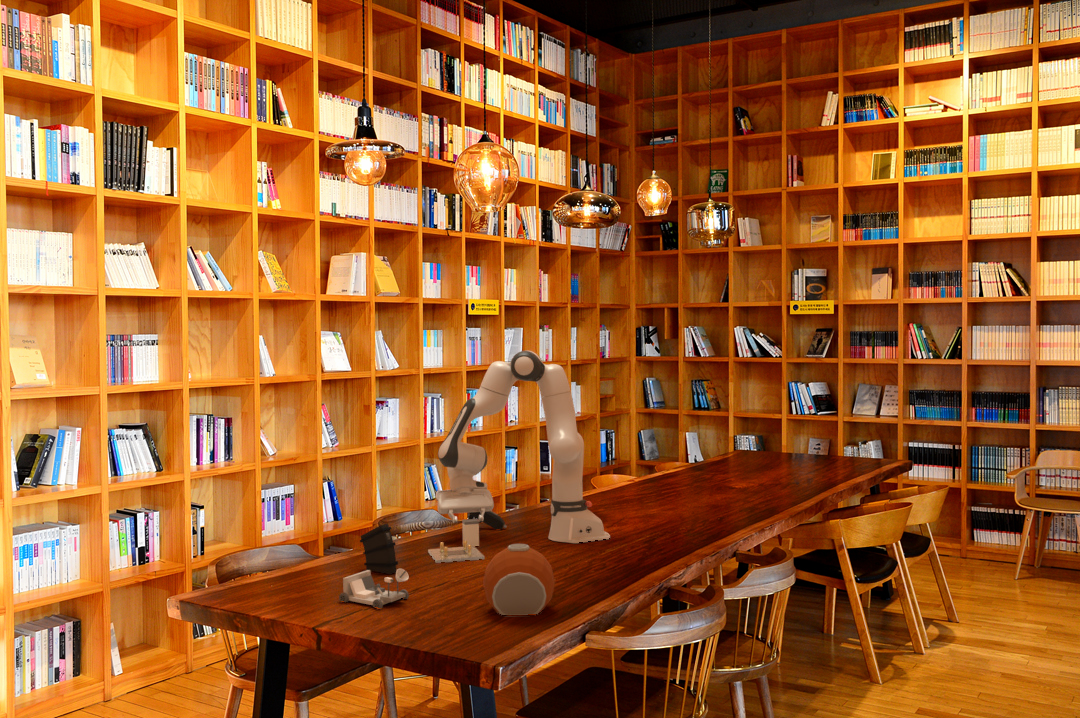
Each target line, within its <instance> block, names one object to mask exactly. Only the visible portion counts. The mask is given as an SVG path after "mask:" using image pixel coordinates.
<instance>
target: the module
mask: <svg viewBox="0 0 1080 718" xmlns="http://www.w3.org/2000/svg"><path fill="white" fill-rule="evenodd" d="M479 522H480V521H479V520H478V519H475V518H473V519H468V518H467V519H462V524H461V525H462V542H463V541H465V540H466V541H467V546H468V545H471V546H474V547H475V546H479V547H480V523H479ZM475 548H476V547H475Z"/></svg>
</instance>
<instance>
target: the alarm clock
mask: <svg viewBox="0 0 1080 718" xmlns="http://www.w3.org/2000/svg"><path fill="white" fill-rule="evenodd" d="M553 571H554V570H553V568H552V565H551V564H550V562H549V561H548V560H547V558H546V557H545V556H544V555H543V554H542V553H540V552H539V551H538V550H536V549H534V548H532V547H530V546H529V545H528V544H526V543H512V544H509V545H508V546H507V547H505V548H504V549H502V550H501V551H500V552H498V553H496V554H495V555H494V556H493V557H492V559H491V560H490V562H488V564H487V565H486V568H485V571H484V575H483V576H484V577H483V581H482V585H483V590H484V594H485V597H486V598H485V599H486V601H487V602H488V604H489V605H490V606H491V607H492V608H493V610H494V611H495V612H496V613H497V614H498V613H499V614H498V615H500V614H501V615H500V616H502V615H528V614H537V615H539V614H538V613H539V612H541V611H542V610H544V609H546V606H547V605H548V604H549V603H550V602H551V600H552V598H553V593H554V590H555V584H556V580H555V576H554V572H553ZM542 612H543V611H542ZM542 612H541V613H542Z"/></svg>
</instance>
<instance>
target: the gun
mask: <svg viewBox="0 0 1080 718" xmlns="http://www.w3.org/2000/svg"><path fill="white" fill-rule="evenodd" d="M468 514H469V515H468V518H467V520H468V519H477V520H478V521H479V519H478V517H479V515H481V513H480V512H469V513H468ZM483 517H484V520H483V521H479V524H481V523H483V524H486V525H487V526H489V527H491V528H492V529H495V530H496V529H502V530H503V529H506V528H507V527H508V525H506V522H505V520H504V519H503V518H502V517H501V516H500V515H499V514H498V513H496V512H494V511H493V510H492V511H487V512H485V513H484V516H483Z"/></svg>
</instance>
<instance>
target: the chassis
mask: <svg viewBox="0 0 1080 718" xmlns="http://www.w3.org/2000/svg"><path fill="white" fill-rule="evenodd" d="M444 544H445V542H443V541H442V542H441V541H440V542H439V548H430V549H429V548H428V549H427V552H428V554H429V555H430V556H432V557H431V558H432V560H433V561H434V560H435V561H434V562H435V564H441V562H445V563H454V562H453V561H457V562H466V561H465V560H470V561H480V560H479V559H482V560H485V555H484V554H483V553H482V552H481V551H480V550H479V549H478V548H477V547H474V546H471V545H468V546H467V541H466V540H465V541H463V540H462V546H458V547H457V546H456V547H448V546H445V545H444Z"/></svg>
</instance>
